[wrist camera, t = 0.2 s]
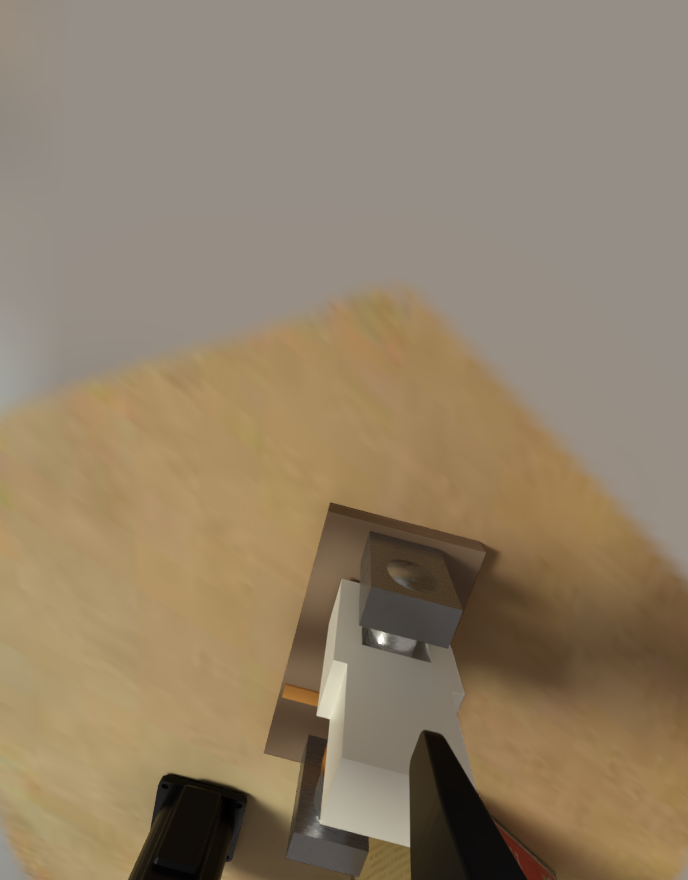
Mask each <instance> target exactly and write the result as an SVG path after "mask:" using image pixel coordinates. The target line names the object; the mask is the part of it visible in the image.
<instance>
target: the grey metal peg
mask: <svg viewBox="0 0 688 880" xmlns="http://www.w3.org/2000/svg"><path fill="white" fill-rule="evenodd" d="M462 612H463V609H462V607H461V604H460V601H459V599H458V596H457V593H456V591H455V588H454V586H453V583H452V580H451V578H450V575H449V572H448V570H447V567H446V565H445V562H444V559H443V557H442V554H441V551H440V549H437V548H433V547H430V546H426V545H422V544H418V543H414V542H411V541H407V540H403V539H399V538H395V537H392V536H388V535H384V534H380V533H376V532H373V531H370V532H369V535H368V538H367V542H366V545H365V548H364V552H363V555H362V558H361V562H360V600H359V626H362V627H366V628H367V631H366V634H365V637H364V640H363V643H362V645H365V646H368V647H372V648H376V649H380V650H384V651H388V652H391V653H395V654H399V655H403V656H407V657H410V658H411V657H412V654H413V652H414V649H415V646H416V643H417V641H420V642H424V643H427V644H431V645H435V646H439V647H443V648H446V649H448V648H449V645H450V643H451V640H452V638H453V635H454V632H455V630H456V627H457V625H458V622H459V620H460V617H461V615H462ZM327 744H328V739H324V738H320V737H317V736H313V735H308V738H307V742H306V745H305V748H304V752H303V755H302V759H301V766H300V772H299V778H298V785H297V791H296V797H295V803H294V810H293V816H292V822H291V829H290V835H289V841H288V848H287V854H286V858H287V859H291V860H295V861H298V862H302V863H306V864H310V865H314V866H318V867H321V868H325V869H329V870H333V871H337V872H341V873H345V874H348V875H352V876H356V877H359V876H360V873H361V871H362V868H363V865H364V863H365V860H366V858H367V855H368V853H369V837H368V836H364V835H361V834H357V833H353V832H349V831H345V830H341V829H338V828H334V827H330V826H326V825H322V824H320V816H321V806H322V795H323V785H324V775H325V765H326V754H327Z"/></svg>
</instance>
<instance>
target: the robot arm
mask: <svg viewBox="0 0 688 880" xmlns="http://www.w3.org/2000/svg"><path fill="white" fill-rule="evenodd" d="M409 799H410V865H411V880H528V879H527V877H526V875H525V874H524V872H523V870H522V869H521V867H520V865H519V863H518V862H517V860H516V858H515V857H514V855H513V853H512V851H511V850H510V848H509V846H508V845H507V843H506V841H505V839H504V838H503V836H502V834H501V833H500V831H499V829H498V827H497V826H496V824H495V822H494V821H493V819H492V817H491V816H490V814H489V812H488V810H487V809H486V807H485V805H484V804H483V802H482V800H481V798H480V797H479V795H478V793H477V792H476V790H475V788H474V786H473V785H472V783H471V781H470V780H469V778H468V776H467V774H466V773H465V771H464V769H463V768H462V766H461V764H460V763H459V761H458V759H457V757H456V756H455V754H454V752H453V751H452V749H451V747H450V745H449V744H448V742H447V740H446V739H445V737H444V736H443V735H442V734H440V733H437V732H433V731H429V730H423V731H422V732H421V733H420V735H419V738H418V741H417V743H416V746H415V749H414V751H413V754H412V757H411V760H410V767H409ZM246 804H247V797H246V796H245V795H242V794H239V793H235V792H231V791H227V790H223V789H219V788H216V787H212V786H208V785H204V784H200V783H196V782H193V781H189V780H185V779H181V778H177V777H173V776H170V775H164V776H163V777H162V778H161V780H160V783H159V785H158V790H157V795H156V801H155V806H154V812H153V818H152V823H151V829H150V832H149V834H148V837H147V839H146V841H145V843H144V845H143V848H142V850H141V852H140V854H139V857H138V859H137V861H136V863H135V865H134V868H133V870H132V872H131V874H130V876H129V879H128V880H221V876H222V872H223V869H224V865H225V862H229V861H231V860H232V858H233V854H234V850H235V846H236V842H237V839H238V835H239V831H240V827H241V823H242V820H243V816H244V812H245V808H246Z"/></svg>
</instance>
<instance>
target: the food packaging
mask: <svg viewBox="0 0 688 880" xmlns="http://www.w3.org/2000/svg"><path fill="white" fill-rule="evenodd" d="M490 816H491V815H490ZM491 817H492V816H491ZM492 819H493V821H494V822H495V824H496V826H497V827H498V829H499V831H500V833H501V834H502V836H503V838H504V839H505V841H506V843H507V845H508V846H509V848H510V850H511V851H512V853H513V855H514V857H515V858H516V860H517V862H518V863H519V865H520V867H521V869H522V870H523V872H524V874H525V875H526V877H527V879H528V880H557V878H556V873H554V872H553V871H552V870H551V869H550V868H549V867H547V866H546V865H545V864H544V863H543V862H542V861H541V860H540V859H538V858H537V857H536V856H535V855H534V854H533V853H532V852H530V851H529V850H528V849H527V848H526V847H525V846H524V845H523V844H522V843H521V842H520V841H519V840H518V839H517V838H516V837H514V836H513V835H512V834H511V833H510V832H509V831H508V830H507V829H505V828H504V827H503V826H502V825H501V824H500V823H499V822H498V821H496V820H495V819H494V818H493V817H492ZM351 880H411V865H410V847H407V846H403V845H399V844H395V843H391V842H388V841H384V840H380V839H376V838H372V837H369V853H368V855H367V858H366V860H365V863H364V865H363V868H362V871H361V873H360V876H359V877H356V876H352V878H351Z"/></svg>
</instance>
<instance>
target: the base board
mask: <svg viewBox="0 0 688 880" xmlns="http://www.w3.org/2000/svg"><path fill="white" fill-rule="evenodd" d="M370 531H373V532H376V533H380V534H384V535H388V536H392V537H395V538H399V539H403V540H407V541H411V542H414V543H418V544H422V545H426V546H430V547H433V548H437V549H440V551H441V554H442V557H443V559H444V562H445V565H446V567H447V570H448V572H449V575H450V578H451V580H452V583H453V586H454V588H455V591H456V593H457V596H458V599H459V601H460V604H461V607H462V609H463V611H464V608H465V606H466V603H467V601H468V598H469V596H470V593H471V591H472V588H473V585H474V583H475V580H476V578H477V575H478V573H479V570H480V568H481V565H482V562H483V560H484V557H485V555H486V551H485V550H484V548H483V547H482V545H481V543H480V542H478V541H474V540H471V539H467V538H463V537H459V536H455V535H452V534H448V533H444V532H440V531H436V530H433V529H429V528H425V527H421V526H417V525H413V524H410V523H406V522H402V521H398V520H394V519H391V518H387V517H383V516H379V515H375V514H372V513H368V512H364V511H360V510H356V509H353V508H349V507H345V506H341V505H337V504H334V503H330V506H329V509H328V513H327V517H326V521H325V524H324V528H323V532H322V536H321V539H320V543H319V547H318V551H317V554H316V558H315V562H314V566H313V569H312V573H311V577H310V581H309V584H308V588H307V592H306V596H305V600H304V603H303V607H302V611H301V615H300V618H299V622H298V626H297V630H296V633H295V637H294V641H293V645H292V648H291V652H290V656H289V660H288V663H287V667H286V671H285V675H284V678H283V682H282V686H281V690H280V693H279V697H278V701H277V705H276V709H275V712H274V716H273V720H272V724H271V727H270V731H269V735H268V739H267V743H266V747H265V751H264V753H265V754H269V755H273V756H277V757H280V758H284V759H288V760H292V761H296V762H300V763H301V759H302V755H303V752H304V748H305V745H306V742H307V738H308V735H313V736H317V737H320V738H324V739H328V734H329V724H330V719H327V718H323V717H319V716H316V715H317V708H318V700H319V693H320V686H321V678H322V671H323V664H324V656H325V649H326V642H327V634H328V627H329V621H330V618H331V614H332V611H333V607H334V604H335V601H336V597H337V594H338V590H339V587H340V583H341V580H342V579H345V580H349V581H353V582H357V583H360V562H361V558H362V555H363V552H364V548H365V545H366V542H367V538H368V535H369V532H370ZM462 614H463V612H462ZM461 616H462V615H461ZM460 619H461V617H460ZM459 621H460V620H459ZM458 624H459V622H458ZM457 626H458V625H457ZM456 629H457V627H456ZM455 631H456V630H455ZM454 634H455V632H454ZM453 637H454V635H453ZM452 639H453V638H452ZM451 642H452V640H451ZM450 644H451V643H450Z"/></svg>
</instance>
